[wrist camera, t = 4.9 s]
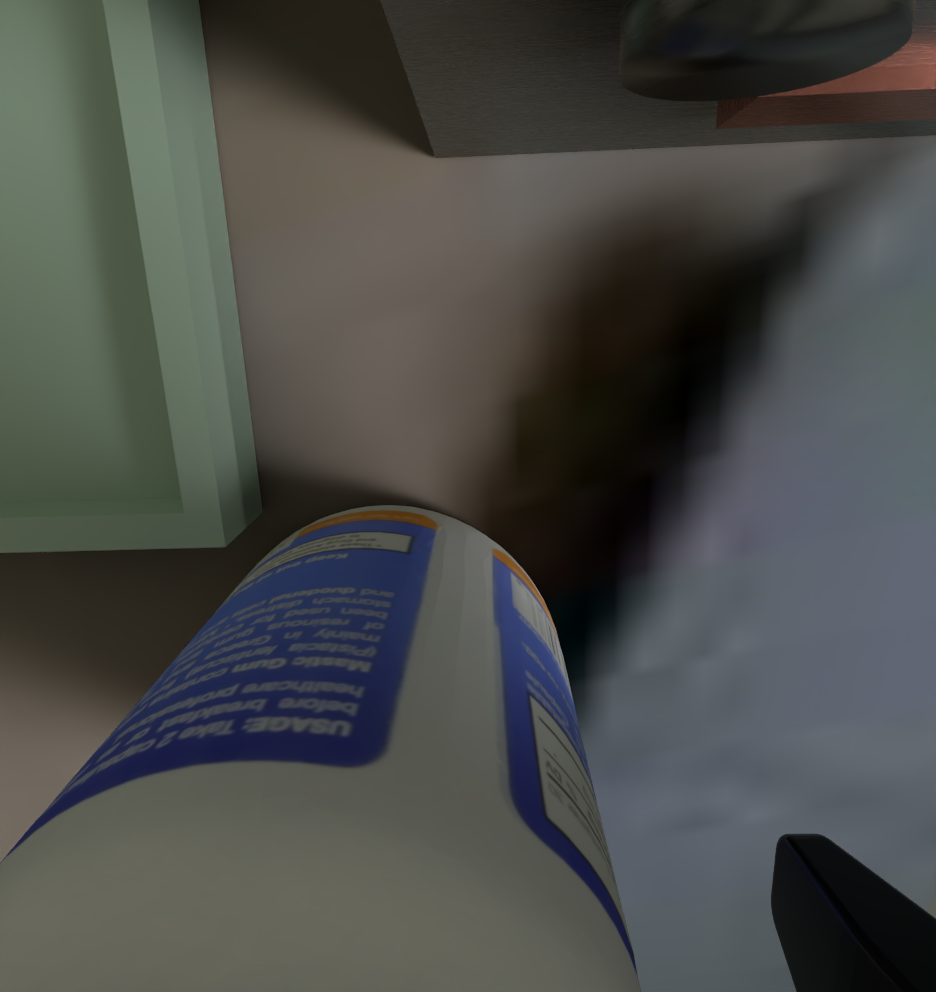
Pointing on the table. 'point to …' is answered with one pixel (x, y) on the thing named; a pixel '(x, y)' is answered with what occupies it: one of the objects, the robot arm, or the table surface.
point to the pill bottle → (336, 793)
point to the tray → (116, 286)
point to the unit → (664, 72)
